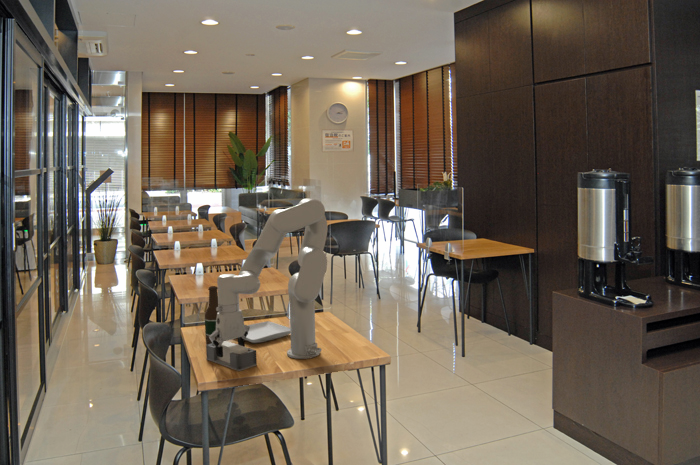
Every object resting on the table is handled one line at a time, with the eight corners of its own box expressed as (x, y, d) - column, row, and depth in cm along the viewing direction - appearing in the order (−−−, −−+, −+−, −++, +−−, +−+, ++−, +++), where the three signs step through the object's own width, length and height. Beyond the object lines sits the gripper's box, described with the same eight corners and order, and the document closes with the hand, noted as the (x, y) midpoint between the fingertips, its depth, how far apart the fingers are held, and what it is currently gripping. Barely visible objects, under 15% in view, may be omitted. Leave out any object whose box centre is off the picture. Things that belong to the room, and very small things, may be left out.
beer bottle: (207, 347, 224) (204, 289, 221) (204, 342, 231) (201, 285, 228) (226, 345, 227) (224, 287, 224) (223, 340, 234) (220, 284, 231)
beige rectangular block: (248, 363, 202) (248, 347, 201) (240, 366, 199) (239, 350, 198) (223, 354, 213) (222, 339, 212) (214, 357, 210) (213, 342, 209)
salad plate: (226, 337, 240) (226, 329, 239) (268, 327, 254) (268, 320, 253) (253, 347, 224) (252, 339, 224) (295, 336, 238) (295, 329, 238)
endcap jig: (256, 365, 202) (256, 350, 201) (238, 371, 196) (238, 355, 196) (224, 354, 215) (223, 340, 215) (206, 359, 209) (205, 345, 209)
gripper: (214, 314, 195) (216, 361, 196) (254, 304, 207) (255, 349, 209) (202, 310, 200) (204, 357, 202) (241, 302, 212) (243, 345, 214)
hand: (230, 353), depth 205 cm, fingers open, 9 cm apart
